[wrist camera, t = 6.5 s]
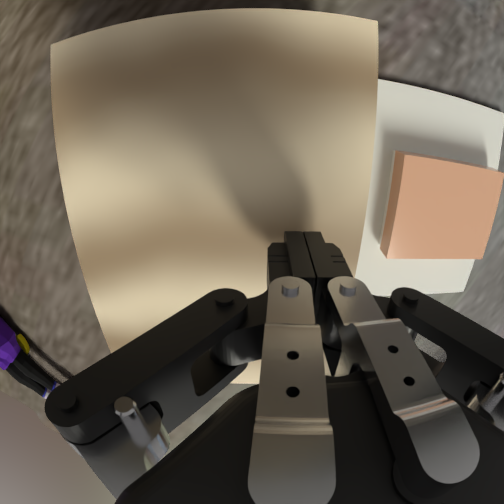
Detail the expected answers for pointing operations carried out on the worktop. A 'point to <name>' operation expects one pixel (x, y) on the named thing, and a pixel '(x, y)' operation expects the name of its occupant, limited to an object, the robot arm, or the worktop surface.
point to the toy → (22, 362)
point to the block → (210, 152)
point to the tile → (438, 207)
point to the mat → (430, 143)
